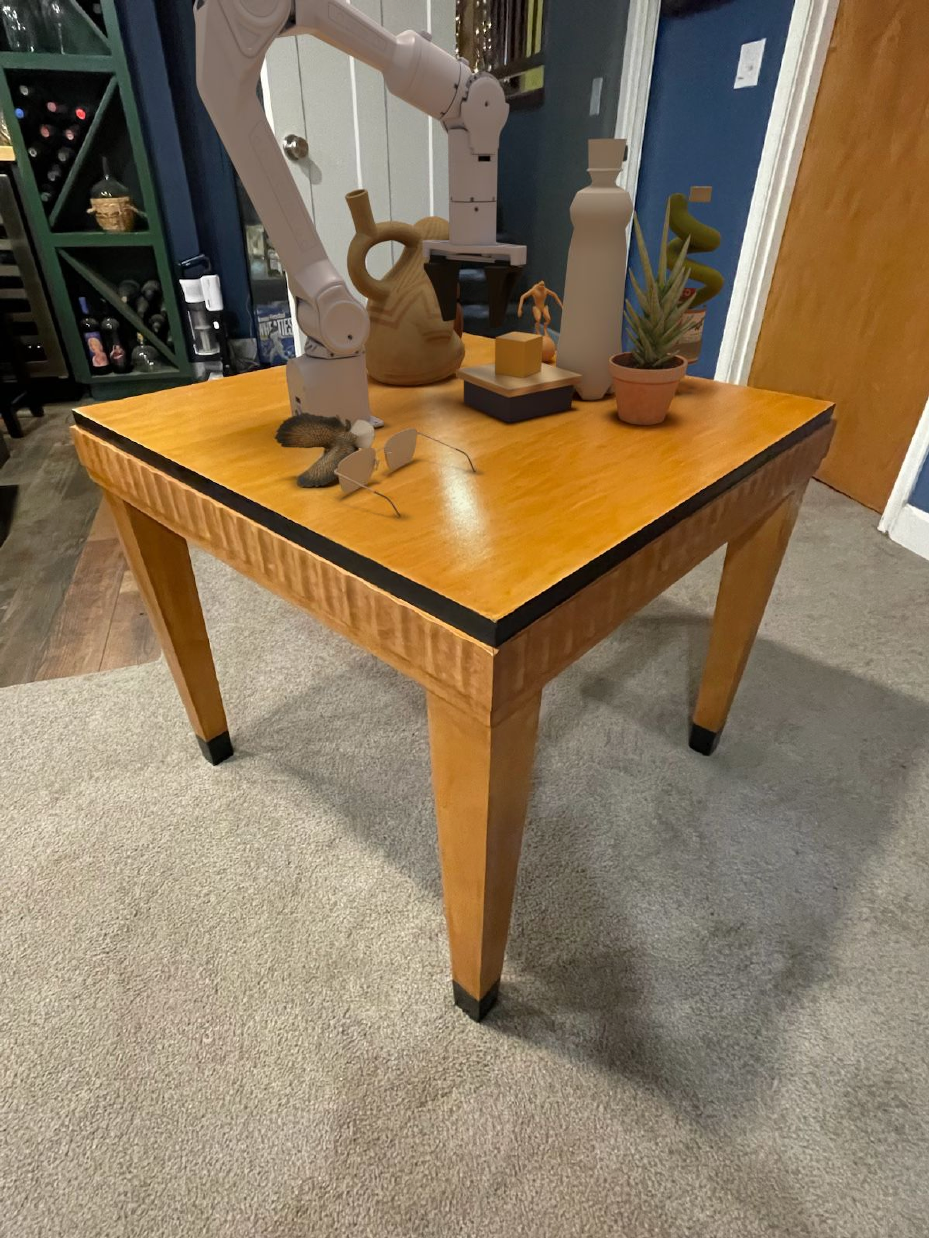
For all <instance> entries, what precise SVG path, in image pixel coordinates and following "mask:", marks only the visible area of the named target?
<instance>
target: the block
mask: <svg viewBox="0 0 929 1238" xmlns="http://www.w3.org/2000/svg"><path fill="white" fill-rule="evenodd" d="M543 336H544V335H542V334H540V335H537V333H535V334H534V333H528V332H521V331H511V332H507V333H504V334H502V335H499V336H496V337H495V338H494V339H495V340H494V341H495V343H494V344H495V345H494V350H495V351H494V363H495V373H497V374H502V375H508V376H514V377H520V378H525V377H527V376H530V375H532V374H535V373H537V372H540V371H541V365H542V363H543V362H542V346H543Z"/></svg>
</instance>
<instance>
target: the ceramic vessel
mask: <svg viewBox="0 0 929 1238" xmlns="http://www.w3.org/2000/svg"><path fill="white" fill-rule="evenodd" d="M344 200H345V202H346V204H347V207H348V209H349V212H350V215H351V218H352V223H353V225H354V230H355V234H354V235H353V237H352V239H351V241H350V243H349V245H348V249H347V256H346V267H347V273H348V277H349V279H350V282H351V284H352V286H353V287H354V289H356V291H357V292H358V293H359V294H360V295H362V296H363V297H365V298H366V299H367V301H366V304H365V309H366V311H367V313H368V315H369V319H370V332H369V336H368V339H367V340H366V342H365V344H364V345H365V357H366V369H367V373H368V374H369V375H370V377H371V378H373V380H375V381H377V382H380V383H384V384H389V385H395V386H419V385H426V384H431V383H435V382H439V381H441V380H442V381H443V380H444V379H447V378H448V377H450V376H452V375H455V374H456V370H457V369H461V365H462V363H463V362H464V359H465V358H466V357H465V356H466V347H465V343H464V341H463V340H462V338H460V337H459V336H458V335H457V334H456V332H455V331H454V330H453V328H454V320H451V321H447V322H445V321H443V320H442V315H441V311H440V307H439V303H438V300H437V297H436V294H435V291H434V288H433V286H432V283H431V281H430V279H429V277H428V275H427V274H426V272H425V270H424V263H427V262H429V260H430V258H423V249H422V241H426V240H449V220H447V219H445V218H443V217H441V216H440V217H439V216H437V215H433V216H426V217H423V218H420V219H418V221H416V222H415V223H413V224H414V225H412V224H409V223H406V222H402V221H397V220H388V221H381V222H377V223H376V221H375V218H374V215H373V211H372V206H371V203H370V202H371V201H370V197H369V192H368V189H365V188H358V189H355V190H352V191H350V192H347V193H346V194H345V195H344ZM390 241H391V242H397V243H399V244H401V245H403V249H402V252H401V254H400V255H399V258H398V259H397V260H396V262H395V263H394V265H393V266H391V268H390V269H389V270H388V271H387V272H386V274H384V276H382V277H381V279H380V280H379V279H376V278H374V277H373V276H372V275H371V274H370V273H369V271H368V268H367V264H366V260H367V255H368V253H369V251H370V250H371V249H372V248H374V246H377V245H378V244H380V243H381V244H382V243H384V242H390ZM455 255H457V254H455Z"/></svg>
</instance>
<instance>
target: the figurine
mask: <svg viewBox="0 0 929 1238" xmlns="http://www.w3.org/2000/svg"><path fill="white" fill-rule="evenodd" d="M547 295H549V296H551V297H554V299H555V301H556V303H557V304H558V305H559V307H561V310H563V302H561V300H560V299H559V297H558V295H557V294H556V293H555V292H553V291H552V290H550V289H548V288H547V287H546V284H545V282H544V281H543V280H541V281H539V282H538V283H536V284H534V285H533V286H532V288H530V289H528V291H527V292H525V293H524V294H522V295H521V296H520V299H519V304H518V309H517V317H518V318H520V317H522V314H523V311H522V308H523V303H524V299H526V298H528V297H531V296H532V297H533V301H534V303H535V305H534V306H533V307H532V313H533V317H534V319H535V321H536V323H535V324H534V326H535V333H536V335H541V333H540V330H539V327H540V323H541V318H542V317H543V318H544V319H545V320H546V321H545V322H543V334H544V335H543V346H542V363H547V362H549V361H551V360H552V358H554V356H555V355H556V348H557V347H556V343H555V342H554V340H553V339H552V338H551V337H550V335H549V334H548V330H547V327H548V326H549V324H550V322H551V319H552V318H551V316H550V313H549V306H548V305H547V304H546V305H545V302H546V299H547Z"/></svg>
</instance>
